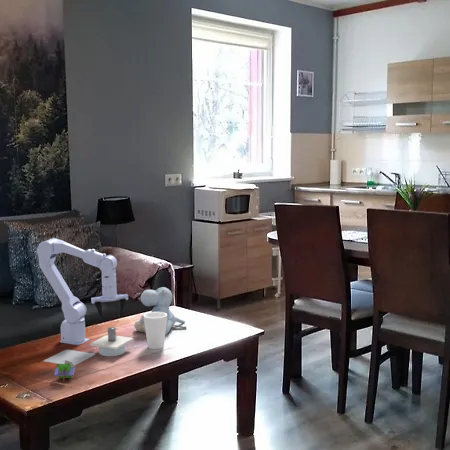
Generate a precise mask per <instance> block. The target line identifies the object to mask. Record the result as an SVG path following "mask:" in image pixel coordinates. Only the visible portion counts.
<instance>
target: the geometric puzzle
mask: <svg viewBox="0 0 450 450" xmlns="http://www.w3.org/2000/svg"><path fill="white" fill-rule="evenodd" d="M75 370H76V365H75V366H74V365H73V363H72V362H69V361H67V360H65V364H57V363H56V366H55V370H54V372H53V373H54V374H53V377H56V379H58V380H59V379H62V381H63V383H64V382H67V381H68V379H72V377H74V376H75ZM65 379H66V380H65Z"/></svg>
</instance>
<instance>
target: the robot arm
mask: <svg viewBox="0 0 450 450" xmlns="http://www.w3.org/2000/svg"><path fill="white" fill-rule="evenodd" d="M36 253H37V257H38V265H39V268H40V270H41V271H42V273H43V274H44V276H45V277H46V279H47V281H48V283H49V284H50V287H52V289H53V291H54V292H55V294H56V296H57V297H58V298H59V301H60V302H61V310H62V313H63V316H64V320H63V321H62V322H61V324H60V341H59V343H62V344H63V343H64V344H68V345H76V346H80V345H82V344H84V343H86V342H88V341H90V340H91V339H90V338H89V337H88V338H86V321H85V315H86V313H87V305H85V304H84V303H83V302H82V301H80V299H79V298H78V297H77V296H74V294H73V293H72V291H71V290H70V287H69V286H68V284H67V283H66V280H64V278H63V276H62V274H61V272H60V270H58V268H57V266H56V265H55V261H56V257H57V255H58V254H62V253H65V254H68V255H70V256H71V255H72V256H74V257H77V258H80V259H82V260H83V262H84V263H86V264H87V265H90V266H93V267H96V268H99V270H100V271H101V291H102V292H101V294H102V295H100V296H95V297H91V298H90V299H91V300H90V301H91V304H94V306H95V308H96V310H97V313H98V315H99V320H100V321H103V320H104V319H103V304H102V303H106V302H115V301H117V305H118V318H119V319H122V315H123V311H124V308H125V306H126V303H127V301H128V300H129V294H127V293H125V294H121V293H120V294H118V293H117V291H118V290H117V273H116V270H117V269H116V267H117V265H118V260H117V258H116V257H115V256H113V255H112V254H108V255H107V254H106V253H101V252H98V251H96V249H94V248H92V249H90V248H89V249H87V250H85V249H82V248H80V247H77V246H75V245H73V244H71V243H68V242H67V241H64V240H63V239H58V238H56V237H52V238H50V239H47V240H45V241H41V242H40V243H39V244H38V246H37V249H36Z"/></svg>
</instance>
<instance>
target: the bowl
mask: <svg viewBox="0 0 450 450" xmlns="http://www.w3.org/2000/svg"><path fill="white" fill-rule="evenodd" d="M125 353H126V345H124V346H122V347H120V348H118V349H110V348H104V347H98V354H99V355H101V356H103V357H104V356H105V357H116V356H120V355H123V354H125Z"/></svg>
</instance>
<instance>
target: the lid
mask: <svg viewBox="0 0 450 450" xmlns="http://www.w3.org/2000/svg"><path fill="white" fill-rule="evenodd" d="M134 339H135V338H133V337H129V336H121V335H117V330H116V327H113V326H110V327H107V334H105V335H104V336H102V337H99V338H98V339H96V340H94V341H92V342H90V343H89V346H91V347H97V348H99V347H104V348H110V349H118V348H120V347H122V346H124V345H125V346H126V345H127V344H129V343H131V342H133V341H134Z"/></svg>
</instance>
